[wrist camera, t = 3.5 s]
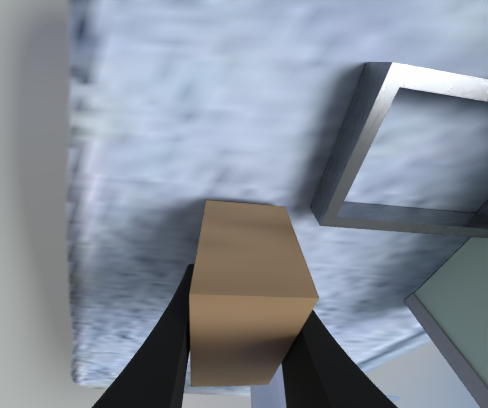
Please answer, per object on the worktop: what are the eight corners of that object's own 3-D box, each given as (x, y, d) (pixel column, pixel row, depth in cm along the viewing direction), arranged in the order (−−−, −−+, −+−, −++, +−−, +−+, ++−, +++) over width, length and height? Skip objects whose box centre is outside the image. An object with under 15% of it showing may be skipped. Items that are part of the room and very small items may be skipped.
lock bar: (258, 296, 15) (268, 384, 11) (202, 294, 15) (191, 386, 10) (285, 206, 11) (319, 298, 7) (206, 200, 10) (189, 294, 6)
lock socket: (476, 221, 13) (503, 239, 12) (310, 207, 11) (319, 225, 10) (593, 102, 9) (650, 109, 8) (366, 61, 8) (392, 62, 7)
